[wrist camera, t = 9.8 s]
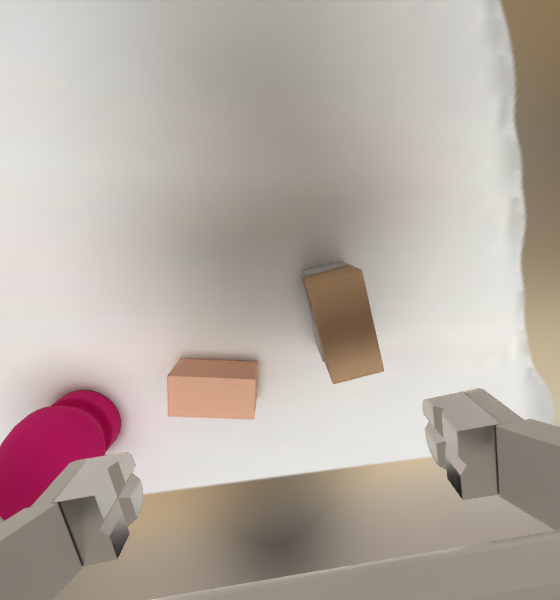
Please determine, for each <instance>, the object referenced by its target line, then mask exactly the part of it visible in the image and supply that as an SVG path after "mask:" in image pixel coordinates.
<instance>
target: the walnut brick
mask: <svg viewBox="0 0 560 600" xmlns="http://www.w3.org/2000/svg"><path fill="white" fill-rule="evenodd" d="M303 281H304V285H305V289H306V292H307V296H308V300H309V304H310V308H311V312H312V315H313V319H314V323H315V327H316V331H317V335H318V339H319V342H320V346H321V350H322V354H323V358H324V362H325V364H326V367H327V369H328V372H329V375H330V377H331V380H332V382H333V384H336V383H340V382H344V381H348V380H352V379H356V378H360V377H363V376H367V375H371V374H375V373H379V372H383V371H384V368H383V363H382V359H381V354H380V350H379V345H378V341H377V337H376V332H375V328H374V323H373V319H372V314H371V310H370V305H369V301H368V296H367V292H366V288H365V283H364V279H363V274H362V270H360V269H358V268H355V267H353V266H350V265H345V266H341V267H337V268H334V269H330V270H326V271H323V272H319V273H315V274H311V275H308V276H304V277H303Z"/></svg>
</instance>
